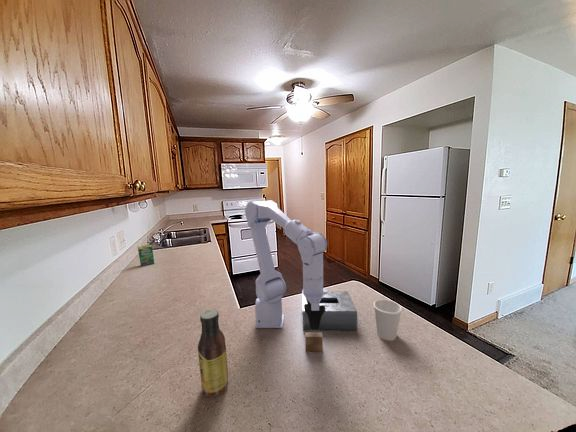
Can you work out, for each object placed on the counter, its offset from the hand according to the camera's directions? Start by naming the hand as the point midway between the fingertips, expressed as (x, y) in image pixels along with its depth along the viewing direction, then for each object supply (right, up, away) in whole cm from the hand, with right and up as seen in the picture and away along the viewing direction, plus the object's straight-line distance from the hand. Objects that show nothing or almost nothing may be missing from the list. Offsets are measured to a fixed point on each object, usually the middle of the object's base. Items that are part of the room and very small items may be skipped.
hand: (313, 320), depth 65 cm
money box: (+7, -7, +17) cm, 19 cm away
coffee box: (-101, -2, +82) cm, 131 cm away
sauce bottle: (-25, -12, -11) cm, 30 cm away
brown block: (0, -9, +1) cm, 10 cm away
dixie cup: (+24, -8, +7) cm, 27 cm away
